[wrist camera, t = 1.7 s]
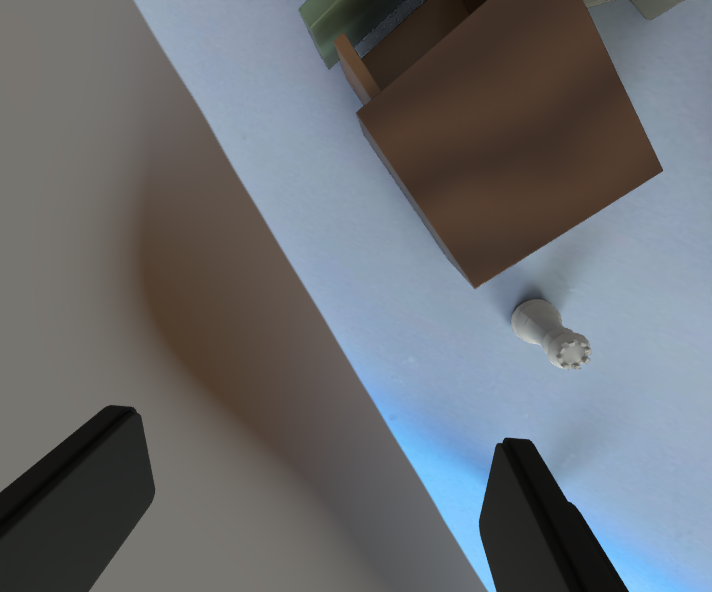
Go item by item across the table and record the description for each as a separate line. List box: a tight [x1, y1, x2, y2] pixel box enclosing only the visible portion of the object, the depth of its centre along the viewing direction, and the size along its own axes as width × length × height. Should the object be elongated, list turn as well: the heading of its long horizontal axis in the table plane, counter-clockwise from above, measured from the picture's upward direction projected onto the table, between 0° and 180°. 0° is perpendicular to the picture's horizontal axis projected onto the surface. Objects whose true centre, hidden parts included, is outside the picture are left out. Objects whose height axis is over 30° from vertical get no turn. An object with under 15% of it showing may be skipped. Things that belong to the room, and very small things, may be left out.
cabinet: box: [356, 0, 663, 289], centre depth 25 cm, size 14×13×10 cm
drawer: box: [298, 0, 487, 105], centre depth 23 cm, size 17×12×8 cm
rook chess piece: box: [511, 299, 592, 370], centre depth 30 cm, size 4×4×8 cm
